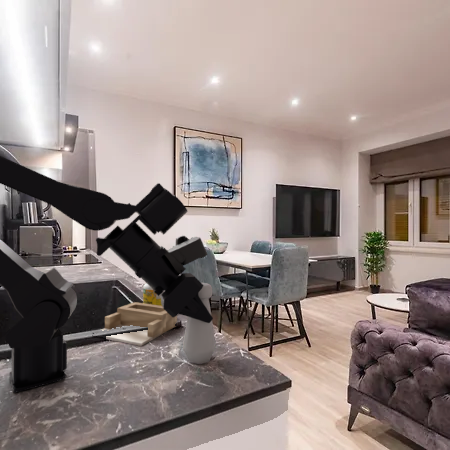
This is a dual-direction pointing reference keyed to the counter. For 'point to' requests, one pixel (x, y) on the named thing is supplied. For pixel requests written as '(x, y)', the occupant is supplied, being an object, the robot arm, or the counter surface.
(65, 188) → the robot arm
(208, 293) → the salt shaker
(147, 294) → the supplement bottle
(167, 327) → the dock
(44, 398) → the counter surface
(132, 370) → the counter surface
